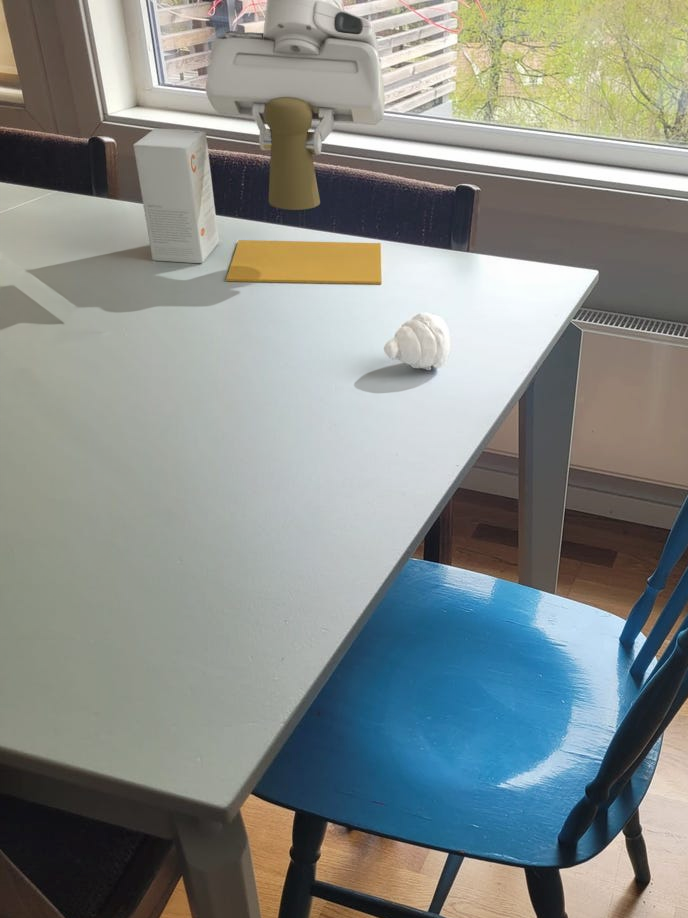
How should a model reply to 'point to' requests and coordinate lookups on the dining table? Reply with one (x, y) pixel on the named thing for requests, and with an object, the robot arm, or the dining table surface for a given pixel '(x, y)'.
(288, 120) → the cork
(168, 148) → the small box
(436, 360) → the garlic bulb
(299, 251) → the linen cloth
